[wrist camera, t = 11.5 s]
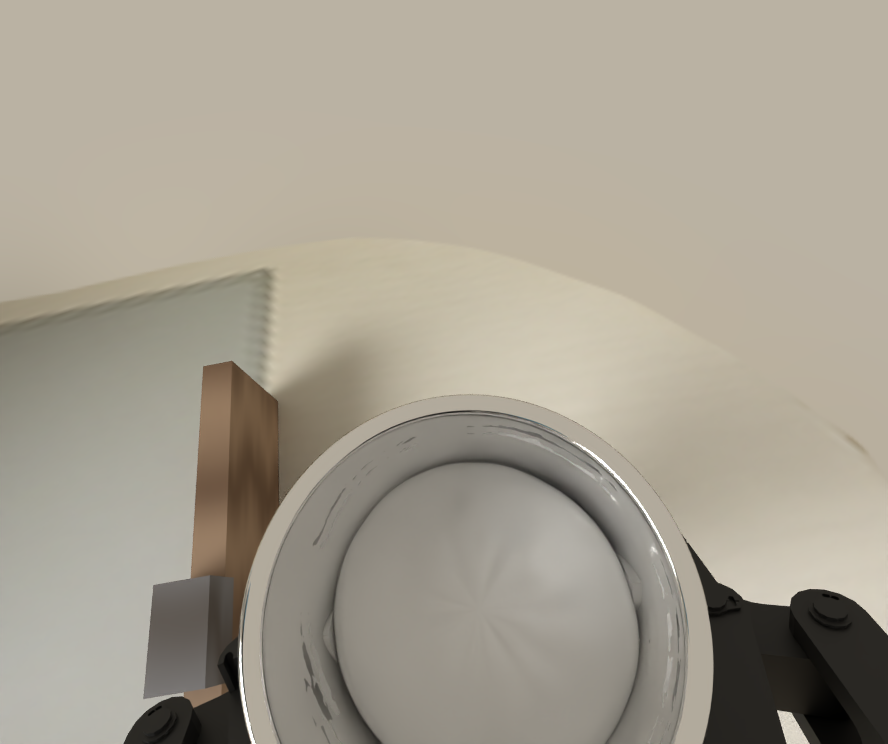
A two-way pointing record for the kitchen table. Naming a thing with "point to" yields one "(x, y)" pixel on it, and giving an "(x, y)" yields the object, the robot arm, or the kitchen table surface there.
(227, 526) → the board
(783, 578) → the kitchen table surface
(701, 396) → the kitchen table surface
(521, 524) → the beer glass
